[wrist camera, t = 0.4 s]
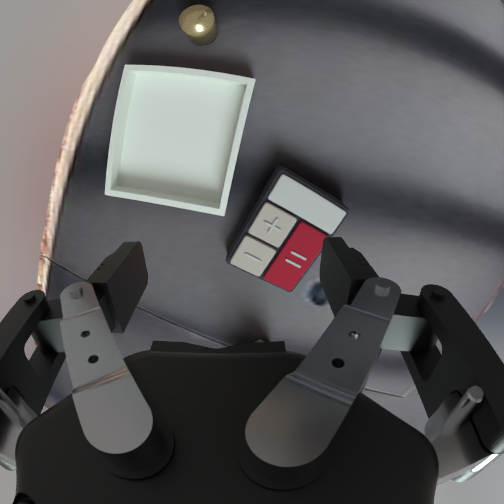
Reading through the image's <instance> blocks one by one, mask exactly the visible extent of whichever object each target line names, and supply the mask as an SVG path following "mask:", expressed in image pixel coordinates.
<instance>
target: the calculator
mask: <svg viewBox="0 0 504 504" xmlns="http://www.w3.org/2000/svg"><path fill="white" fill-rule="evenodd" d="M348 213H349V209H348V208H347V207H346V206H345V205H344V204H343V203H342V202H341V201H340V200H338V199H337V198H335V197H333V196H332V195H330V194H329V193H327V192H326V191H324V190H322V189H321V188H319V187H318V186H316V185H314V184H313V183H311V182H309V181H308V180H306V179H304V178H303V177H301V176H299V175H298V174H296V173H294V172H292V171H291V170H289V169H287V168H286V167H284V166H282V165H278V166H277V167H276V168H275V170H274V172H273V174H272V175H271V177H270V179H269V180H268V182H267V184H266V185H265V187H264V189H263V191H262V193H261V195H260V197H259V198H258V200H257V202H256V203H255V205H254V207H253V208H252V210H251V212H250V213H249V215H248V217H247V218H246V220H245V222H244V224H243V225H242V227H241V229H240V230H239V232H238V234H237V236H236V237H235V239H234V241H233V243H232V244H231V246H230V248H229V250H228V252H227V258H226V262H227V263H228V264H230V265H232V266H234V267H237V268H239V269H241V270H243V271H245V272H247V273H249V274H251V275H254V276H256V277H258V278H260V279H262V280H264V281H266V282H269V283H271V284H273V285H275V286H277V287H279V288H282V289H284V290H286V291H288V292H292V291H293V290H294V288H295V287H296V286H297V284H298V283H299V282H300V280H301V279H302V278H303V276H304V275H305V274H306V272H307V271H308V270H309V268H310V267H311V265H312V264H313V263H314V261H315V260H316V259H317V257H318V256H319V255H320V253H321V252H322V245H323V239H324V238H325V237H332V236H333V235H334V234H335V232H336V231H337V229H338V228H339V226H340V225H341V224H342V222H343V221H344V219H345V218H346V216H347V215H348Z"/></svg>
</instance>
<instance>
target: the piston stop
mask: <svg viewBox="0 0 504 504" xmlns="http://www.w3.org/2000/svg"><path fill="white" fill-rule="evenodd" d="M179 24H180V26H181V28H182V29H183V31H184V32H185V34H186V35H187V37H188V38H189V40H190V41H191V42H192V43H193V44H195V45H199V46H204V45H208V44H210V43H212V42H213V41H214V40H215V39H216V38H217V36H218V28H217V24H216V21H215V17H214V14H213V11H212V10H211V9H210V8H209V7H207V6H205V5H193V6H190V7H188V8H187V9H185V10H184V11H183V12H182V13H181V15H180V17H179Z"/></svg>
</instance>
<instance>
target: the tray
mask: <svg viewBox="0 0 504 504" xmlns="http://www.w3.org/2000/svg"><path fill="white" fill-rule="evenodd" d="M255 80H256V79H253V78H248V77H243V76H237V75H232V74H226V73H220V72H213V71H206V70H199V69H190V68H180V67H169V66H154V65H125V66H124V70H123V75H122V79H121V83H120V88H119V92H118V97H117V102H116V108H115V113H114V119H113V125H112V132H111V139H110V146H109V154H108V163H107V173H106V185H105V195H109V196H115V197H121V198H127V199H133V200H139V201H145V202H151V203H156V204H162V205H167V206H173V207H178V208H184V209H189V210H194V211H200V212H205V213H210V214H215V215H220V216H225V211H226V206H227V201H228V196H229V192H230V187H231V182H232V178H233V173H234V169H235V164H236V160H237V155H238V151H239V146H240V142H241V138H242V133H243V129H244V125H245V120H246V116H247V112H248V108H249V104H250V100H251V96H252V92H253V88H254V84H255Z"/></svg>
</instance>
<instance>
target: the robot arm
mask: <svg viewBox="0 0 504 504" xmlns="http://www.w3.org/2000/svg"><path fill="white" fill-rule="evenodd" d="M320 281H321V285H322V287H323V289H324V292H325V294H326V297H327V299H328V302H329V304H330V307H331V309H332V312H333V314H334V317H335V318H334V319H333V321H332V322H331V323H330V325H329V326H328V328H327V329H326V331H325V332H324V333H323V335H322V336H321V337H320V339H319V340H318V341H317V343H316V344H315V346H314V347H313V348H312V350H311V351H310V352H309V354H308V355H307V356H305V355H302V354H299V353H295V352H291V351H286V350H285V343H284V341H278V342H251V343H246V344H241V345H236V346H230V347H225V348H219V349H213V348H208V347H203V346H199V345H194V344H190V343H185V342H168V341H153V343H152V346H151V349H150V350H146V351H142V352H138V353H135V354H132V355H130V356H128V357H126V358H124V359H123V358H122V356H121V353H120V351H119V349H118V347H117V345H116V343H115V340H114V338H113V336H112V334H111V333H112V332H113V333H124V331H125V328H126V326H127V324H128V322H129V320H130V318H131V316H132V314H133V312H134V310H135V308H136V306H137V304H138V302H139V300H140V298H141V296H142V294H143V292H144V290H145V288H146V286H147V283H148V273H147V268H146V263H145V258H144V253H143V248H142V244H141V243H140V242H139V241H137V242H123V243H122V245H121V246H120V247H119V248H118V249H117V250H116V252H115V253H113V254H111V255H110V256H108V257H106V258H105V259H104V260H103V262H102V263H101V265H99V266H98V268H97V270H95V271H94V272H93V274H92V275H91V276H90V277H89V278H88V280H87V281H86V282H79V283H75V284H72V285H70V286H68V287H67V288H66V289H64V290H63V292H62V293H61V295H60V299H55V300H50V301H47V299H46V296H45V294H44V292H43V291H41V290H34V291H30V292H28V293H26V294H24V295H23V296H22V297H21V298H20V299H19V300H18V301H17V302H16V304H15V305H14V306H13V307H12V308H11V310H10V311H9V312H8V313H7V315H6V316H5V317H4V318H3V320H2V321H1V323H0V465H1V466H3V467H4V468H5V469H7V470H11V471H12V470H16V474H17V485H16V496H15V499H14V502H13V504H434V495H435V490H436V486H437V485H439V484H442V483H444V482H447V481H449V480H451V479H452V480H454V481H457V482H464V481H467V480H469V479H471V478H472V477H473V476H475V475H476V474H478V473H479V472H480V471H482V470H483V469H484V468H486V467H487V466H488V465H490V464H491V463H492V462H493V461H495V460H496V459H497V458H499V457H500V456H501V455H502V454H503V453H504V364H503V362H502V361H501V359H500V358H499V356H498V355H497V353H496V352H495V350H494V349H493V347H492V346H491V344H490V343H489V342H488V340H487V339H486V337H485V336H484V335H483V333H482V332H481V330H480V329H479V328H478V326H477V325H476V324H475V322H474V321H473V320H472V318H471V317H470V316H469V314H468V313H467V312H466V311H465V309H464V308H463V307H462V306H461V304H460V303H459V302H458V301H457V299H456V298H455V297H454V296H453V295H452V293H451V292H450V291H448V290H447V289H445V288H444V287H441V286H438V285H433V284H429V285H425V286H423V287H422V289H421V292H420V295H419V296H415V295H407V294H401V289H400V287H399V286H398V285H397V284H396V283H395V282H393V281H391V280H389V279H386V278H381V277H379V276H378V275H377V273H376V272H375V271H374V269H373V268H372V267H371V265H369V263H368V261H367V260H366V259H365V257H364V256H363V255H362V254H361V253H360V252H359V251H357V250H355V249H354V248H349V247H348V246H347V244H346V243H345V241H344V240H343V239H342V238H341V237H325V238H324V239H323V245H322V255H321V264H320ZM30 335H32V337H33V339H34V341H35V342H36V344H37V348H36V349H35V351H34V353H33V354H32V356H31V358H30V360H29V361H28V359H27V358H26V356H25V352H24V346H25V343H26V341H27V340H28V338H29V337H30ZM438 339H439V341H440V342H441V345H442V355H441V353H440V351H439V350H438V348H437V346H436V342H437V340H438ZM382 349H390V350H400V351H401V353H402V356H403V358H404V360H405V362H406V364H407V367H408V369H409V371H410V374H411V376H412V378H413V381H414V383H415V385H416V388H417V390H418V393H419V395H420V398H421V400H422V403H423V405H424V408H425V410H426V413H427V416H428V418H429V420H428V421H427V423H426V426H425V436H424V435H423V434H422V433H421V432H419V431H418V430H417V429H415V428H413V427H412V426H410V425H409V424H407V423H406V422H404V421H403V420H401V419H400V418H398V417H397V416H395V415H394V414H392V413H391V412H389V411H388V410H386V409H385V408H383V407H382V406H380V405H379V404H377V403H376V402H374V401H373V400H371V399H370V398H368V397H367V396H366V395H364V394H363V391H364V388H365V386H366V384H367V382H368V380H369V378H370V376H371V373H372V371H373V369H374V367H375V364H376V362H377V360H378V358H379V355H380V353H381V350H382ZM65 358H66V359H67V364H68V368H69V372H70V376H71V380H72V384H73V388H74V390H73V391H72V394H70V395H69V396H67V397H66V398H64V399H63V400H61V401H60V402H58V403H57V404H55V405H54V406H52V407H51V408H49V409H48V410H46V411H45V412H43V413H42V414H41V411H42V409H43V406H44V404H45V401H46V399H47V397H48V394H49V392H50V390H51V388H52V385H53V383H54V381H55V379H56V377H57V374H58V372H59V370H60V368H61V366H62V364H63V362H64V360H65Z"/></svg>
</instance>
